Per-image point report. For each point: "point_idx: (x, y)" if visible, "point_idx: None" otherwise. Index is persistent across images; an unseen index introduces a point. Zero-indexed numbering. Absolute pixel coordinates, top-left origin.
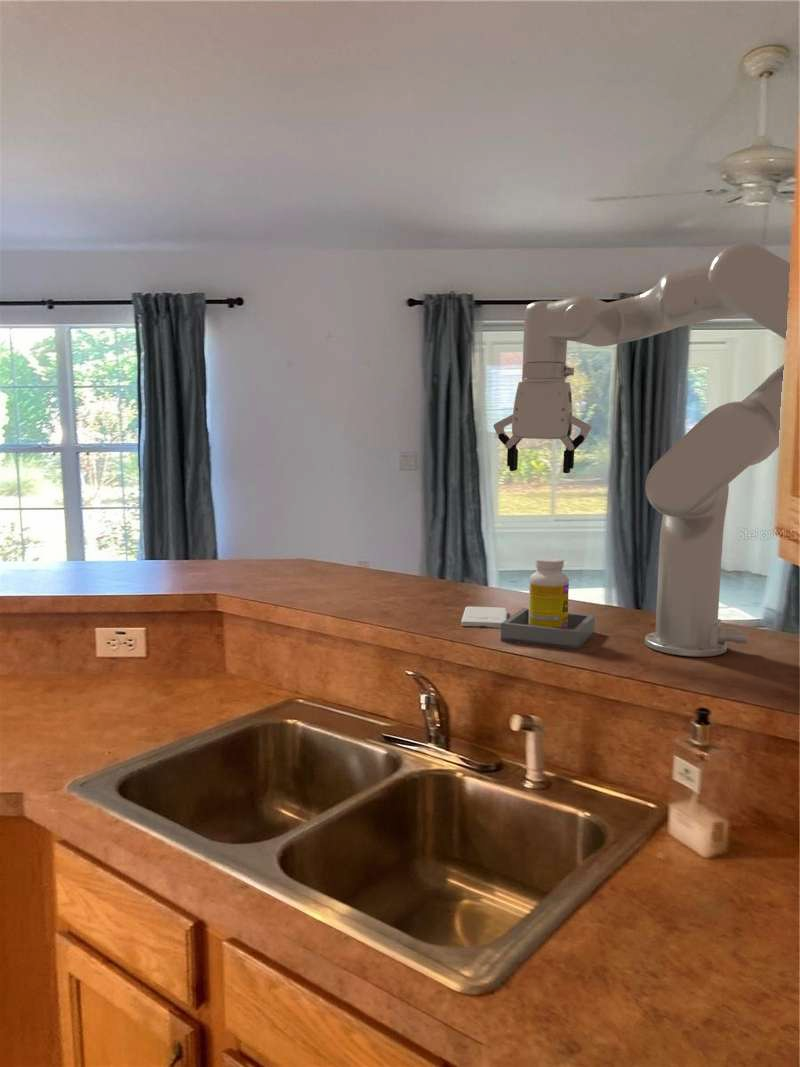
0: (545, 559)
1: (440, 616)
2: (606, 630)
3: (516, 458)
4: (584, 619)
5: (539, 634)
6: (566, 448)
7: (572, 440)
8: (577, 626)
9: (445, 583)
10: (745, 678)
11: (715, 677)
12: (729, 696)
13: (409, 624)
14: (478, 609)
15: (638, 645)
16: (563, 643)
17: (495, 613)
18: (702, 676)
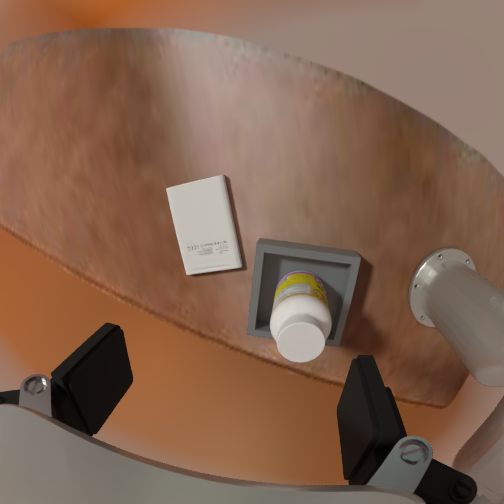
0: (294, 347)
1: (150, 229)
2: (371, 236)
3: (100, 375)
4: (347, 286)
5: None
6: (360, 483)
7: (412, 490)
8: (338, 324)
9: (111, 39)
10: (455, 361)
11: (436, 368)
12: (428, 400)
13: (136, 280)
14: (186, 201)
15: (400, 296)
16: None
17: (214, 217)
18: (428, 369)
